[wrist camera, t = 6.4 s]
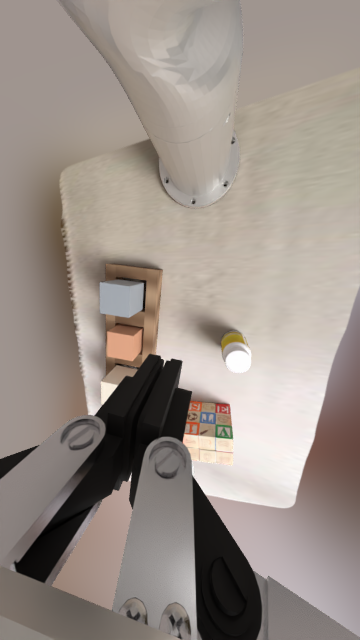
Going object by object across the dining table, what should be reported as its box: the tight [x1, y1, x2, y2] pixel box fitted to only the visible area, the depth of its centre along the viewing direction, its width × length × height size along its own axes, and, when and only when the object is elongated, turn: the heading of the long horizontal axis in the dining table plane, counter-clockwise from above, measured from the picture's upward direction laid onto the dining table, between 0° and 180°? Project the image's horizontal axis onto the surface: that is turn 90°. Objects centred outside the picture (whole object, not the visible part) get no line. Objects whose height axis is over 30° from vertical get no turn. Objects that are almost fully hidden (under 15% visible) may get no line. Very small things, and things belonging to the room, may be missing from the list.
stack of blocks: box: [183, 401, 233, 465], centre depth 39 cm, size 21×6×12 cm, turn 93°
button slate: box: [100, 279, 144, 318], centre depth 33 cm, size 5×5×6 cm
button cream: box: [101, 365, 138, 404], centre depth 39 cm, size 5×5×6 cm
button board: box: [106, 264, 163, 376], centre depth 40 cm, size 28×10×3 cm, turn 174°
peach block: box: [107, 323, 144, 361], centre depth 38 cm, size 5×5×6 cm
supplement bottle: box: [221, 331, 251, 373], centre depth 34 cm, size 5×5×8 cm
